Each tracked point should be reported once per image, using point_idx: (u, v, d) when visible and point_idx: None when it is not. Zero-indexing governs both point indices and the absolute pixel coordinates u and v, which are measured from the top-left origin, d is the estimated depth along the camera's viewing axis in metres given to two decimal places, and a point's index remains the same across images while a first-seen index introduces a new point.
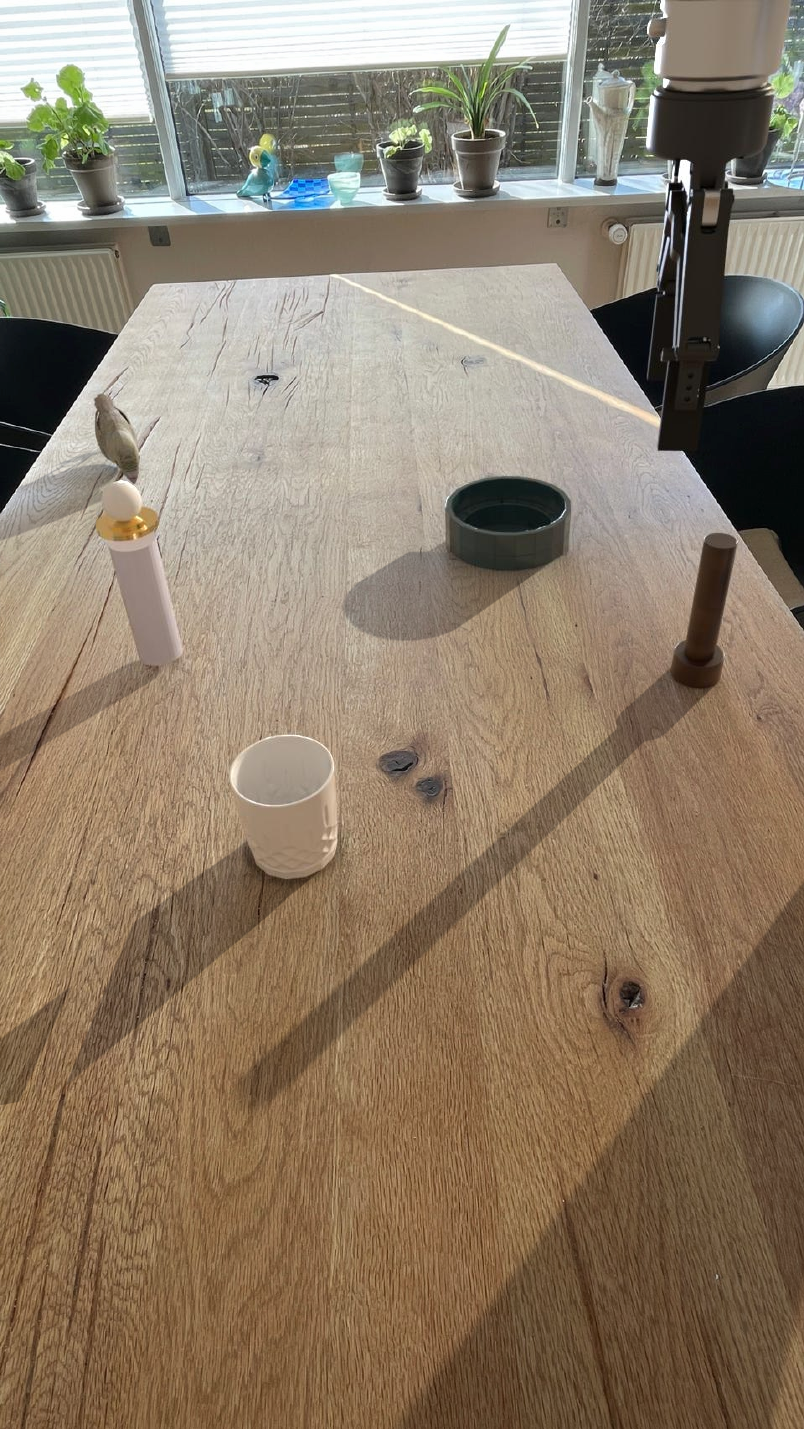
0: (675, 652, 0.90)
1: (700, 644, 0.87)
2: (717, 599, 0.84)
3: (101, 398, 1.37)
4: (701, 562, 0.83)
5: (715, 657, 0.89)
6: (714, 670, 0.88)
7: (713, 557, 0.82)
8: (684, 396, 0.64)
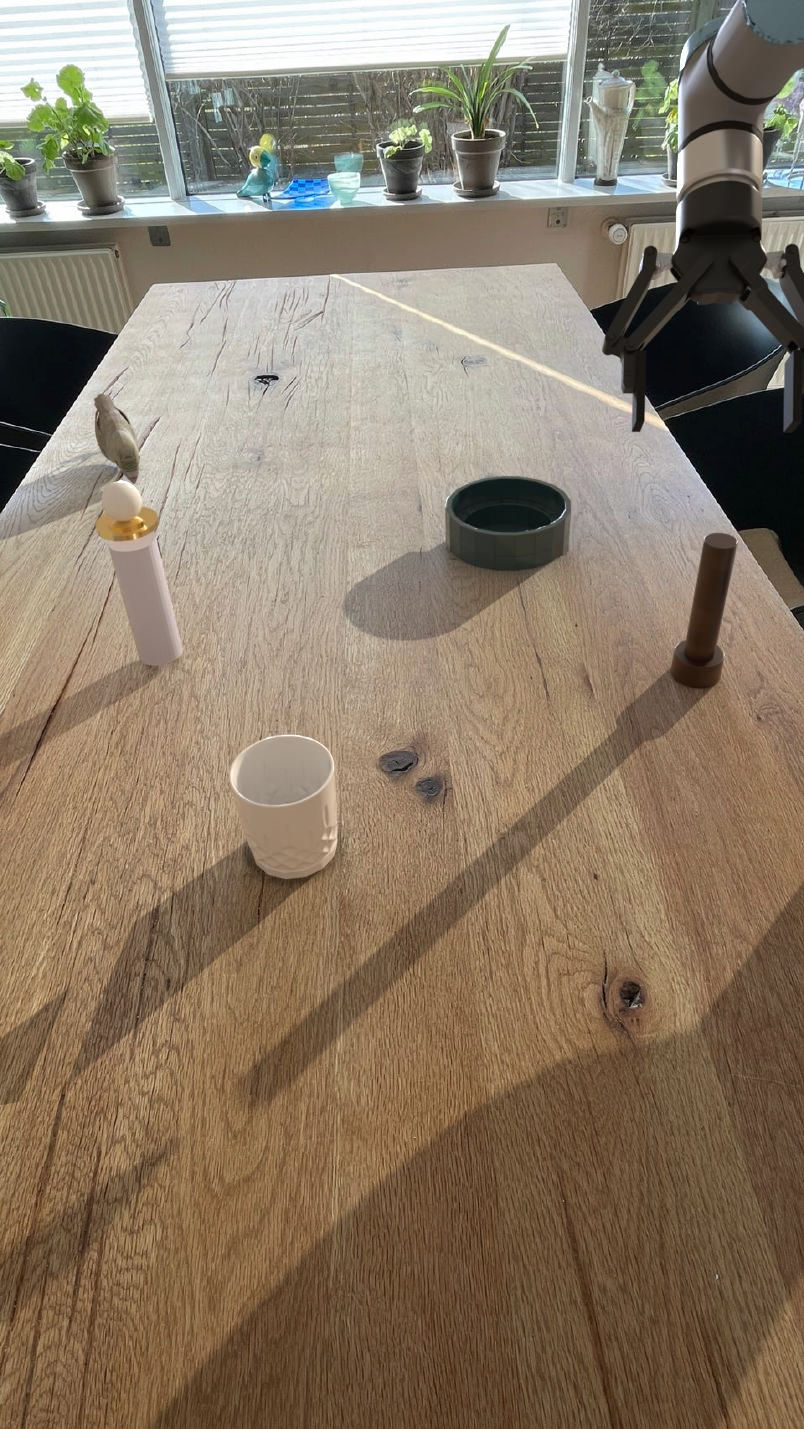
0: (675, 652, 0.90)
1: (700, 644, 0.87)
2: (717, 599, 0.84)
3: (101, 398, 1.37)
4: (701, 562, 0.83)
5: (715, 657, 0.89)
6: (714, 670, 0.88)
7: (713, 557, 0.82)
8: None
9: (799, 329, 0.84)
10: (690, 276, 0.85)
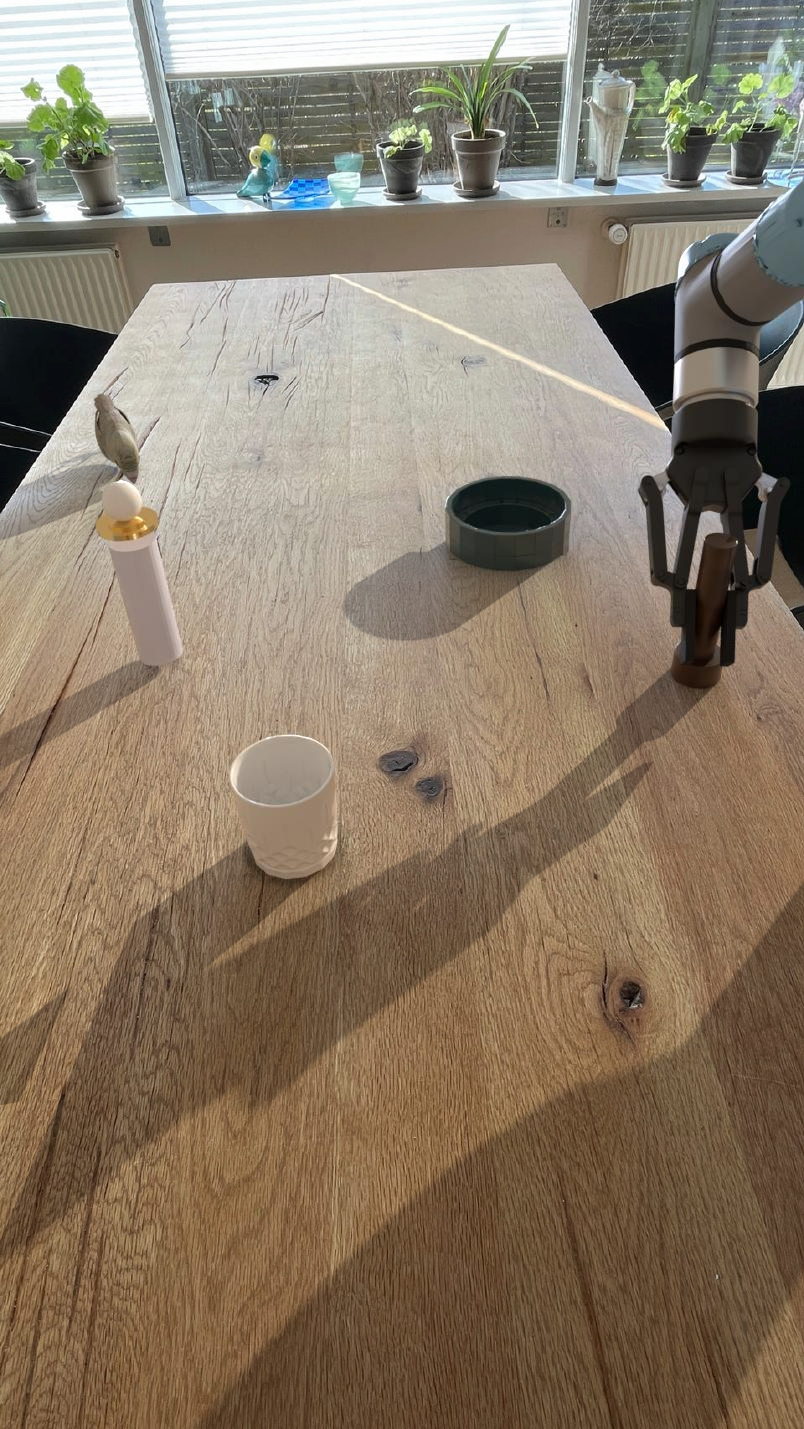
0: (675, 652, 0.90)
1: (700, 644, 0.87)
2: (717, 599, 0.84)
3: (101, 398, 1.37)
4: (701, 562, 0.83)
5: (715, 657, 0.89)
6: (715, 670, 0.88)
7: (713, 557, 0.82)
8: (671, 615, 0.86)
9: (743, 566, 0.85)
10: (696, 495, 0.85)
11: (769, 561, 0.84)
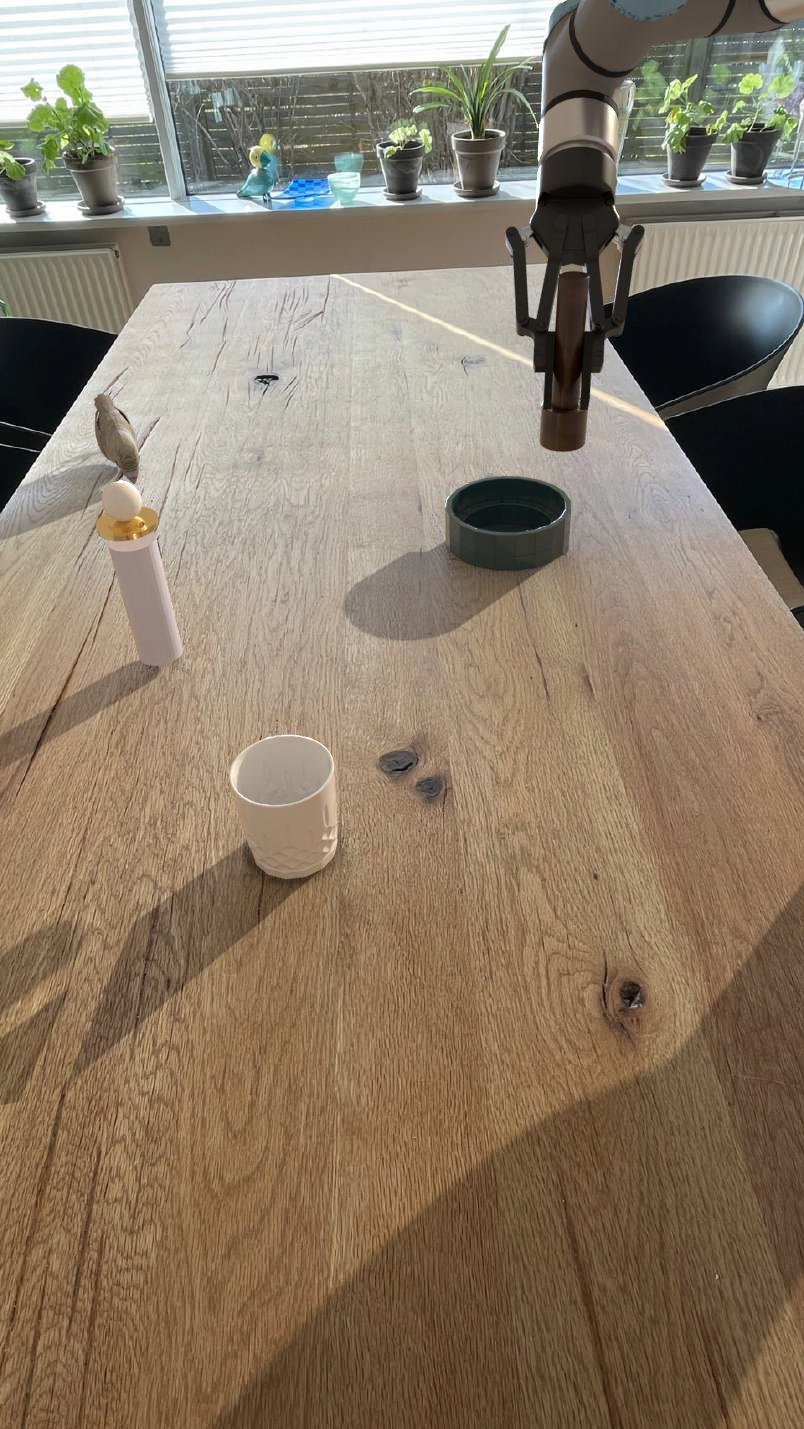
0: (542, 404, 0.94)
1: (562, 390, 0.92)
2: (573, 338, 0.88)
3: (101, 398, 1.37)
4: (557, 300, 0.87)
5: (578, 406, 0.93)
6: (578, 418, 0.93)
7: (566, 290, 0.86)
8: None
9: (600, 309, 0.89)
10: (556, 243, 0.90)
11: (624, 303, 0.89)
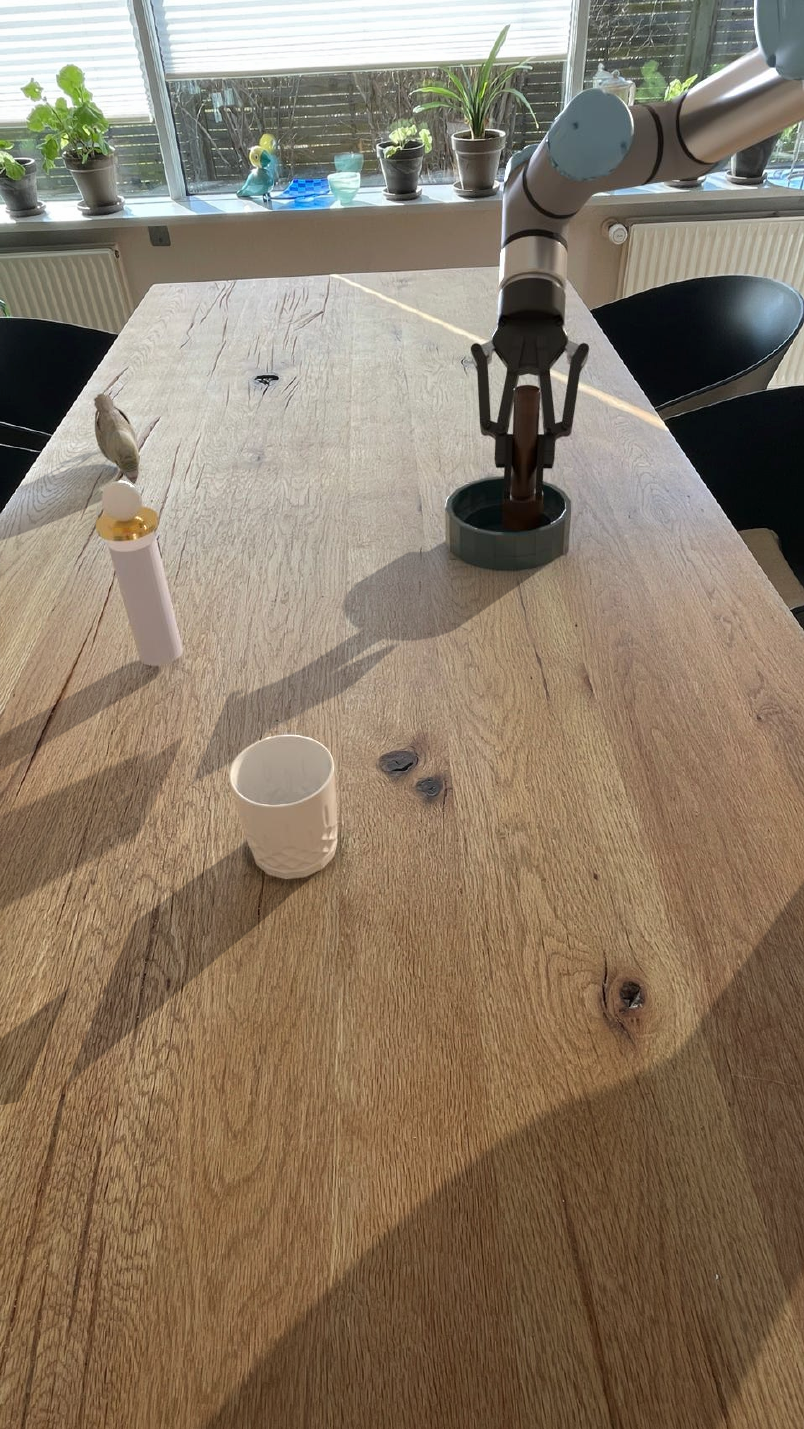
0: None
1: (520, 482, 1.07)
2: (528, 440, 1.04)
3: (101, 398, 1.37)
4: None
5: None
6: (534, 505, 1.08)
7: (520, 402, 1.01)
8: None
9: (551, 415, 1.04)
10: (513, 358, 1.05)
11: (571, 411, 1.04)
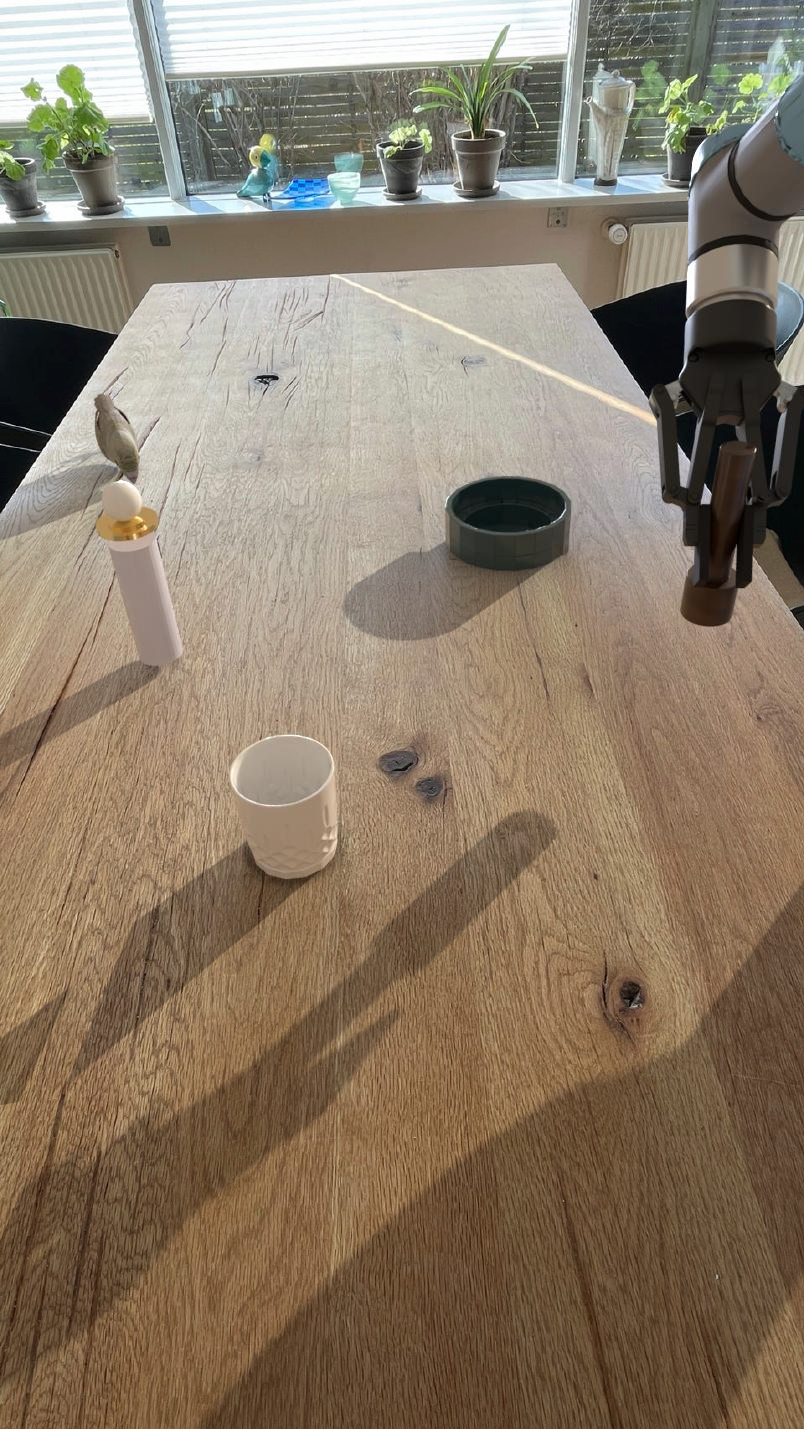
0: (688, 575, 0.84)
1: (714, 564, 0.82)
2: (733, 513, 0.79)
3: (101, 398, 1.37)
4: (717, 472, 0.78)
5: (730, 579, 0.84)
6: (730, 593, 0.83)
7: (730, 465, 0.76)
8: (684, 533, 0.81)
9: (761, 480, 0.79)
10: (711, 404, 0.80)
11: (789, 474, 0.79)
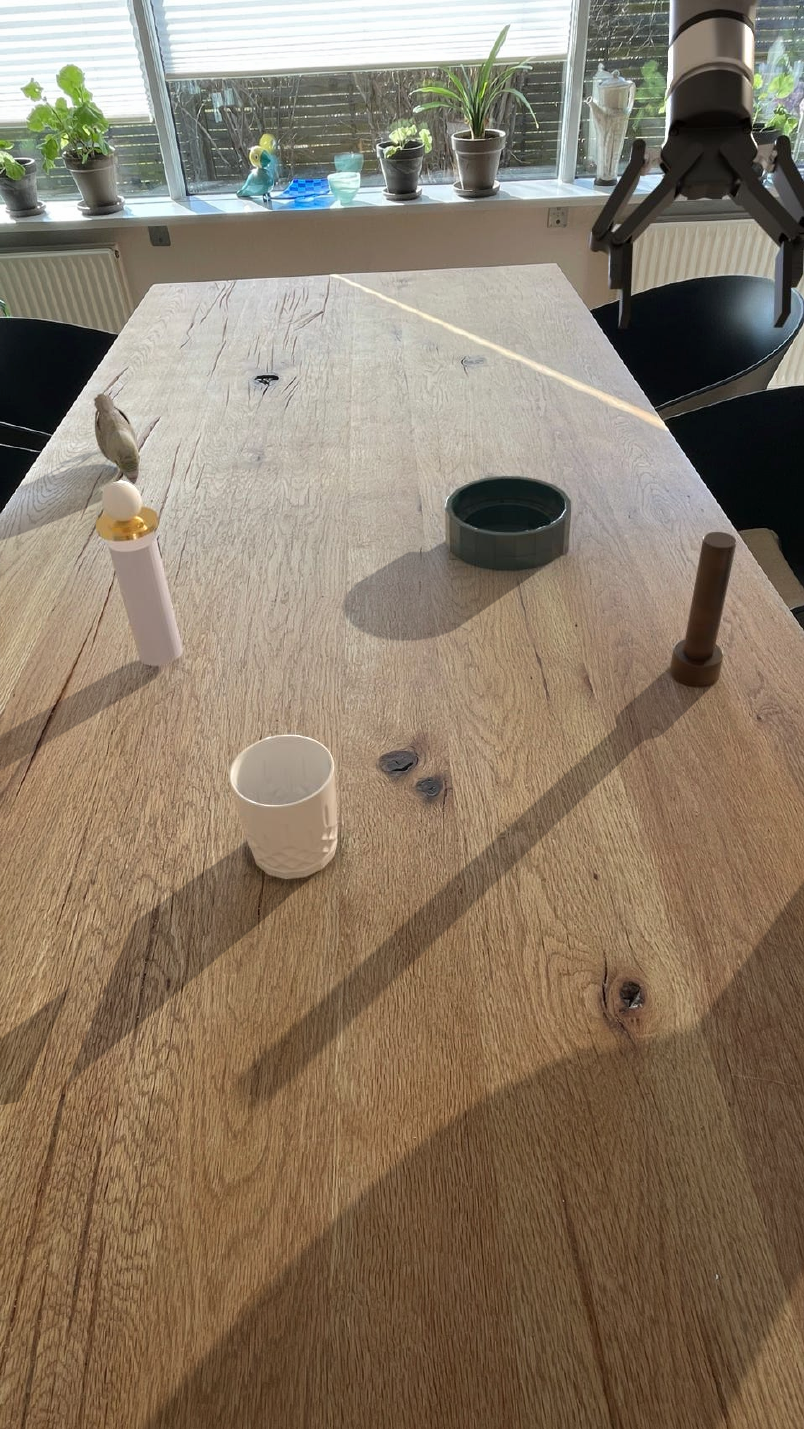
0: (674, 651, 0.90)
1: (699, 643, 0.87)
2: (716, 598, 0.84)
3: (101, 398, 1.37)
4: (700, 561, 0.83)
5: (714, 656, 0.89)
6: (713, 669, 0.88)
7: (712, 556, 0.82)
8: None
9: (789, 220, 0.83)
10: (678, 168, 0.84)
11: None
